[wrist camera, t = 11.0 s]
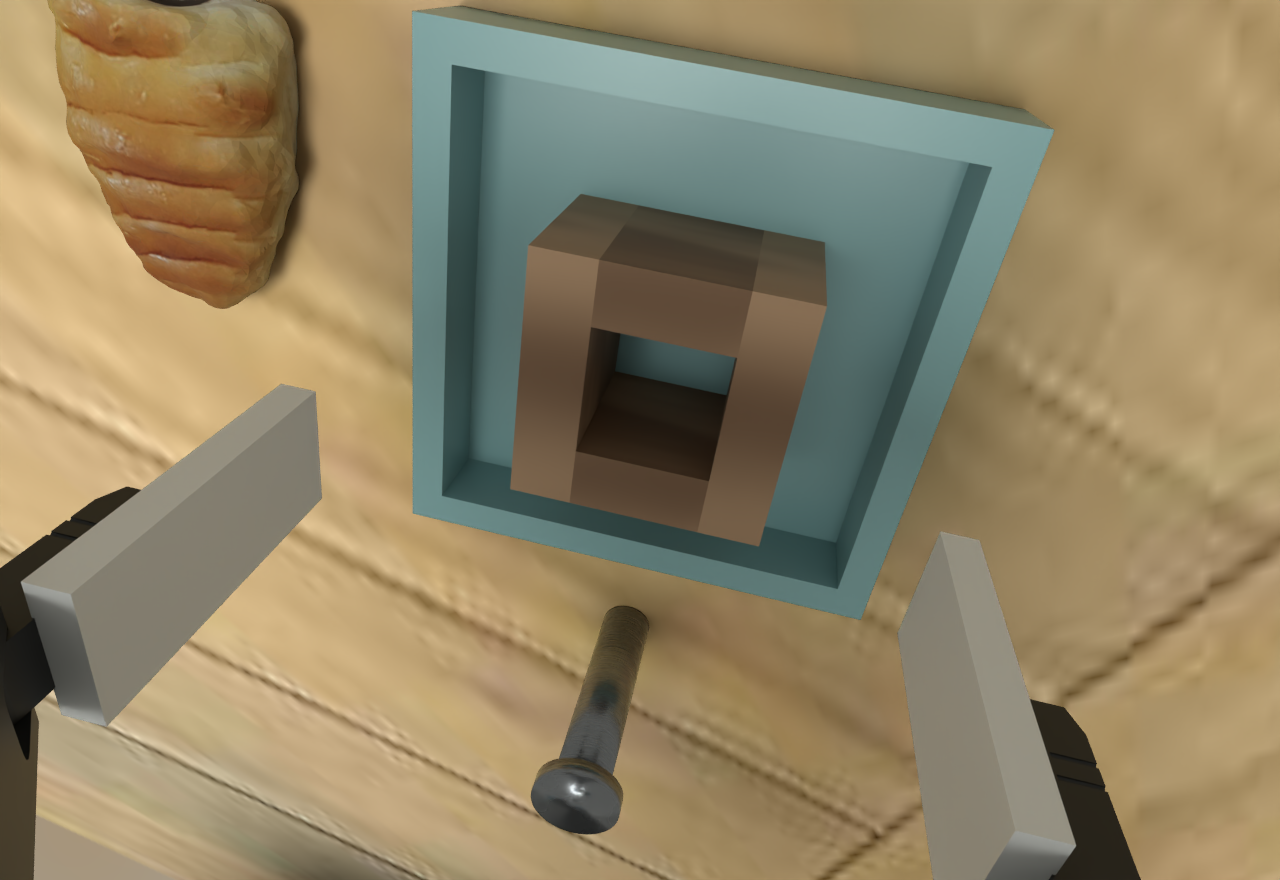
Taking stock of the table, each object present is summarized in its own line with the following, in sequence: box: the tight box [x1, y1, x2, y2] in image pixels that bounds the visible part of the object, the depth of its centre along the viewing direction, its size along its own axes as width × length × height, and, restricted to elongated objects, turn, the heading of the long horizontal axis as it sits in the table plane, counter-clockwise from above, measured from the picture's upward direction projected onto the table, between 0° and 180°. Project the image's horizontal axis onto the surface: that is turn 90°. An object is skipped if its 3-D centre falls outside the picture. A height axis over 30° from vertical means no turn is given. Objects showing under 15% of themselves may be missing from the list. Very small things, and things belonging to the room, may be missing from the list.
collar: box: [510, 194, 827, 546], centre depth 23 cm, size 7×7×5 cm
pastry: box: [47, 0, 299, 309], centre depth 24 cm, size 9×7×4 cm
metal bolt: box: [531, 606, 649, 834], centre depth 28 cm, size 3×3×8 cm
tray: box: [412, 6, 1054, 620], centre depth 24 cm, size 15×15×3 cm
